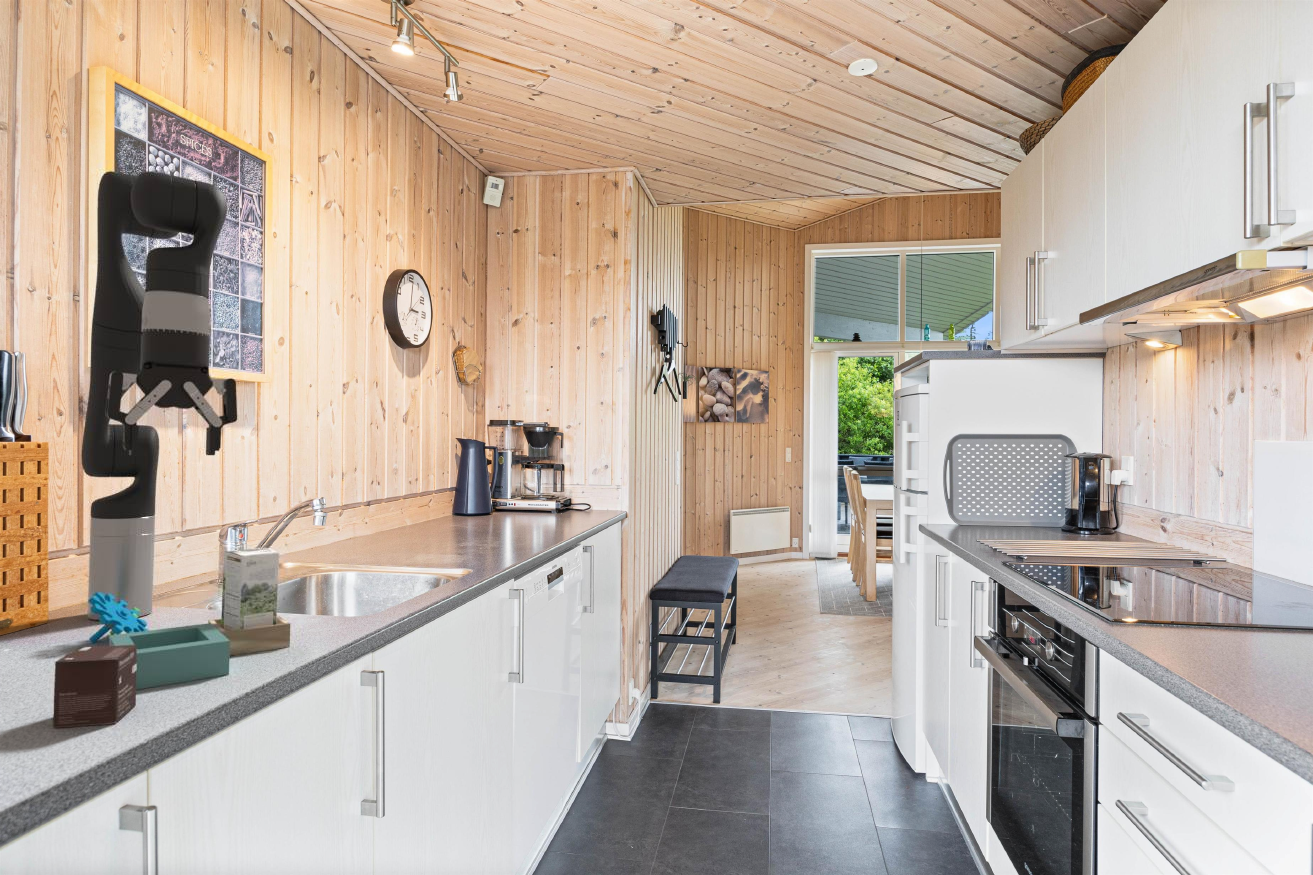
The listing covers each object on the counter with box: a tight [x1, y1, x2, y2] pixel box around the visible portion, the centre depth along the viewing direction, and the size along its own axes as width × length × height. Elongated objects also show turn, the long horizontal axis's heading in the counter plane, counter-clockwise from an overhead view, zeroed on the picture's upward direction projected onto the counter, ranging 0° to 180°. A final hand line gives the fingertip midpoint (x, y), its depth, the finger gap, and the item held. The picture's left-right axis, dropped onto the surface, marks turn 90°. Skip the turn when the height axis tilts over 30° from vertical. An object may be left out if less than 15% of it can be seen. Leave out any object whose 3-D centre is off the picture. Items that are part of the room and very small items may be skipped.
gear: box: [87, 592, 150, 644], centre depth 115 cm, size 11×6×10 cm
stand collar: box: [207, 614, 291, 657], centre depth 115 cm, size 9×9×4 cm
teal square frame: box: [108, 622, 231, 691], centre depth 101 cm, size 12×12×4 cm
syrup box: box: [220, 547, 280, 631], centre depth 115 cm, size 6×6×14 cm
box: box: [52, 645, 137, 729], centre depth 85 cm, size 6×6×7 cm
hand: (172, 455), depth 98 cm, fingers open, 8 cm apart
